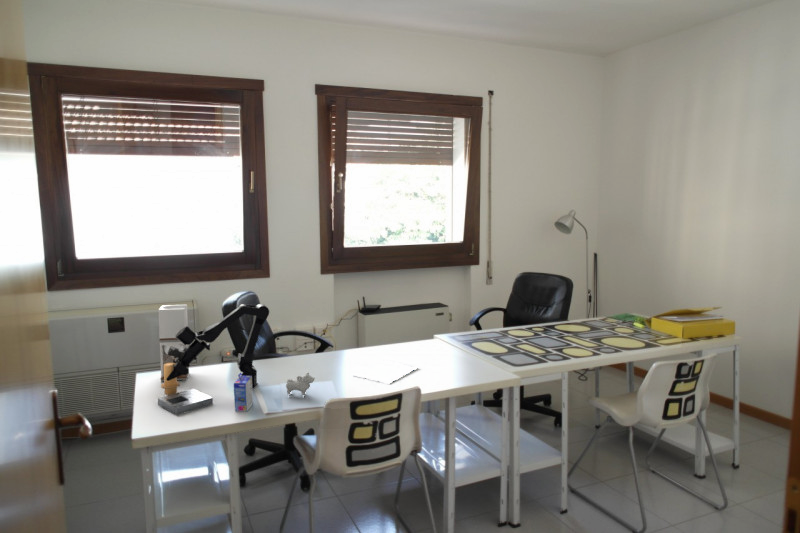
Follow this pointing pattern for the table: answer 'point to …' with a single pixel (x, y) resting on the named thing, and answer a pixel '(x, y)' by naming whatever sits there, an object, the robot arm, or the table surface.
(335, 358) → the table surface
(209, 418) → the table surface
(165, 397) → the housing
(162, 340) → the white dispenser
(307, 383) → the grey dog figurine
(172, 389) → the orange flanged peg
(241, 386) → the ink cartridge box
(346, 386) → the table surface
